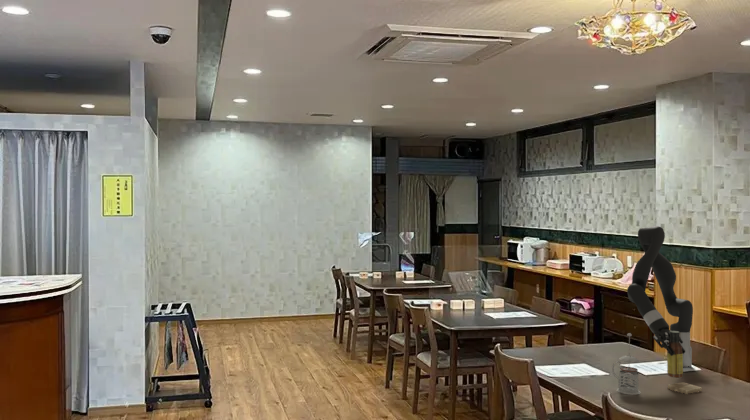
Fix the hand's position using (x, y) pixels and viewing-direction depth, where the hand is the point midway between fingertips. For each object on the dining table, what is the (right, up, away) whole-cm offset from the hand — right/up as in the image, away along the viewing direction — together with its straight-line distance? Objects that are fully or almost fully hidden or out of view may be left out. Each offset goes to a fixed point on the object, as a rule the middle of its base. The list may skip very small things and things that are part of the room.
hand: (678, 353), depth 281 cm
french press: (-25, -15, -5) cm, 29 cm away
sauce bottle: (-1, -10, +2) cm, 11 cm away
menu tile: (-1, -14, +1) cm, 14 cm away
